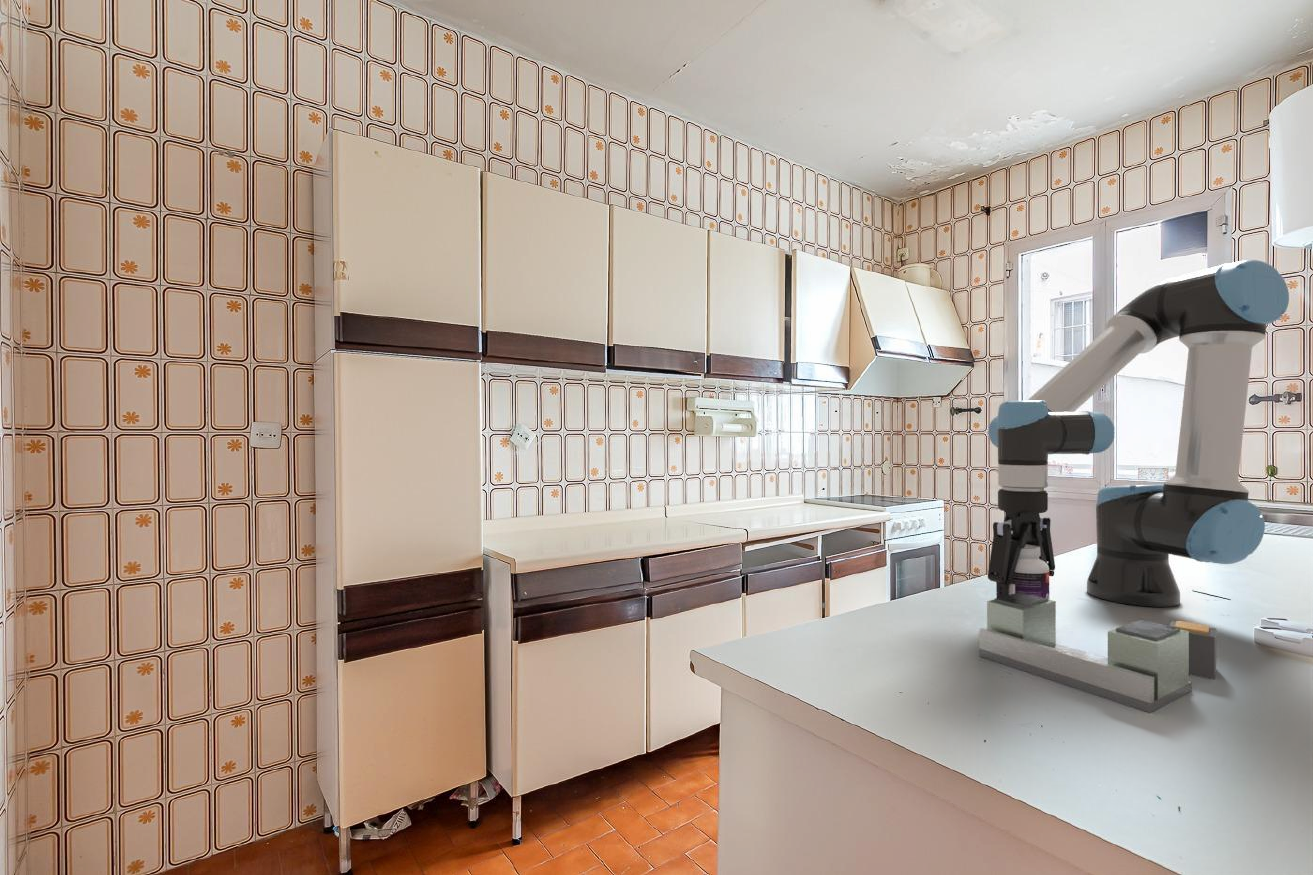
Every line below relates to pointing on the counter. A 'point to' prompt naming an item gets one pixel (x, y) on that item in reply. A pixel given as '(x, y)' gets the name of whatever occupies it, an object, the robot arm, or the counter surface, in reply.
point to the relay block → (1200, 648)
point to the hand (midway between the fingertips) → (1022, 615)
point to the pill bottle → (1031, 573)
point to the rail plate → (1133, 674)
